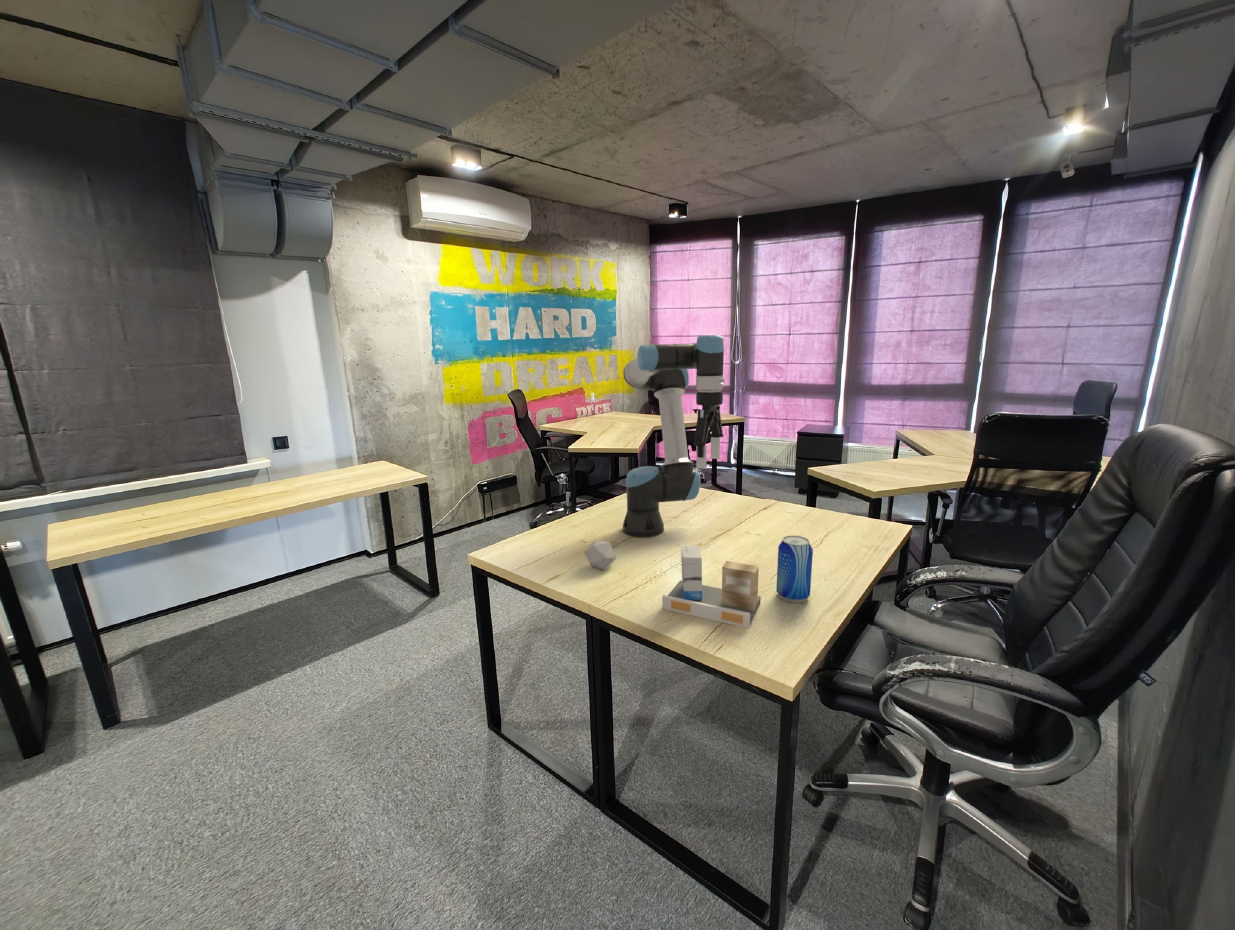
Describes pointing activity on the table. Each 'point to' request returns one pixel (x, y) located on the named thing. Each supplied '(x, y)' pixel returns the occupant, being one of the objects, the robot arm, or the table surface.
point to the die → (600, 554)
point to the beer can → (794, 569)
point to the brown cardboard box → (740, 585)
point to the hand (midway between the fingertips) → (708, 463)
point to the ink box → (691, 572)
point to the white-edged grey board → (708, 606)
